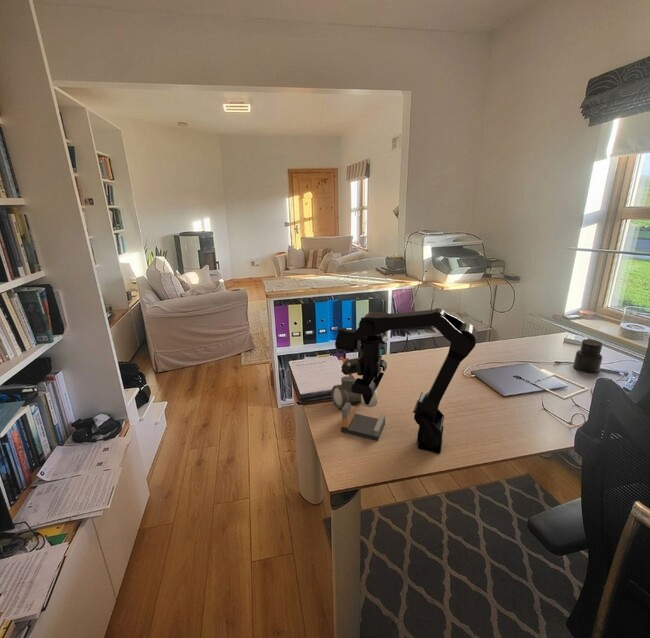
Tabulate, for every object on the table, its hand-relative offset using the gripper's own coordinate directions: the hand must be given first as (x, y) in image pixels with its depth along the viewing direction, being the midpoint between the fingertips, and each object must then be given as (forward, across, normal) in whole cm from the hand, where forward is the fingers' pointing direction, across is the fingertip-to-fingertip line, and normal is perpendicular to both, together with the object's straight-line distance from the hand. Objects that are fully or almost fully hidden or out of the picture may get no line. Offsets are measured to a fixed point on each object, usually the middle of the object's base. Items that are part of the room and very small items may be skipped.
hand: (369, 399), depth 109 cm
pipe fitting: (+11, -12, -10) cm, 20 cm away
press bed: (+11, 0, -2) cm, 11 cm away
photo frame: (+12, -54, +59) cm, 81 cm away
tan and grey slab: (+9, 0, -7) cm, 11 cm away
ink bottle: (+11, -73, +74) cm, 104 cm away
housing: (+1, 0, 0) cm, 1 cm away
